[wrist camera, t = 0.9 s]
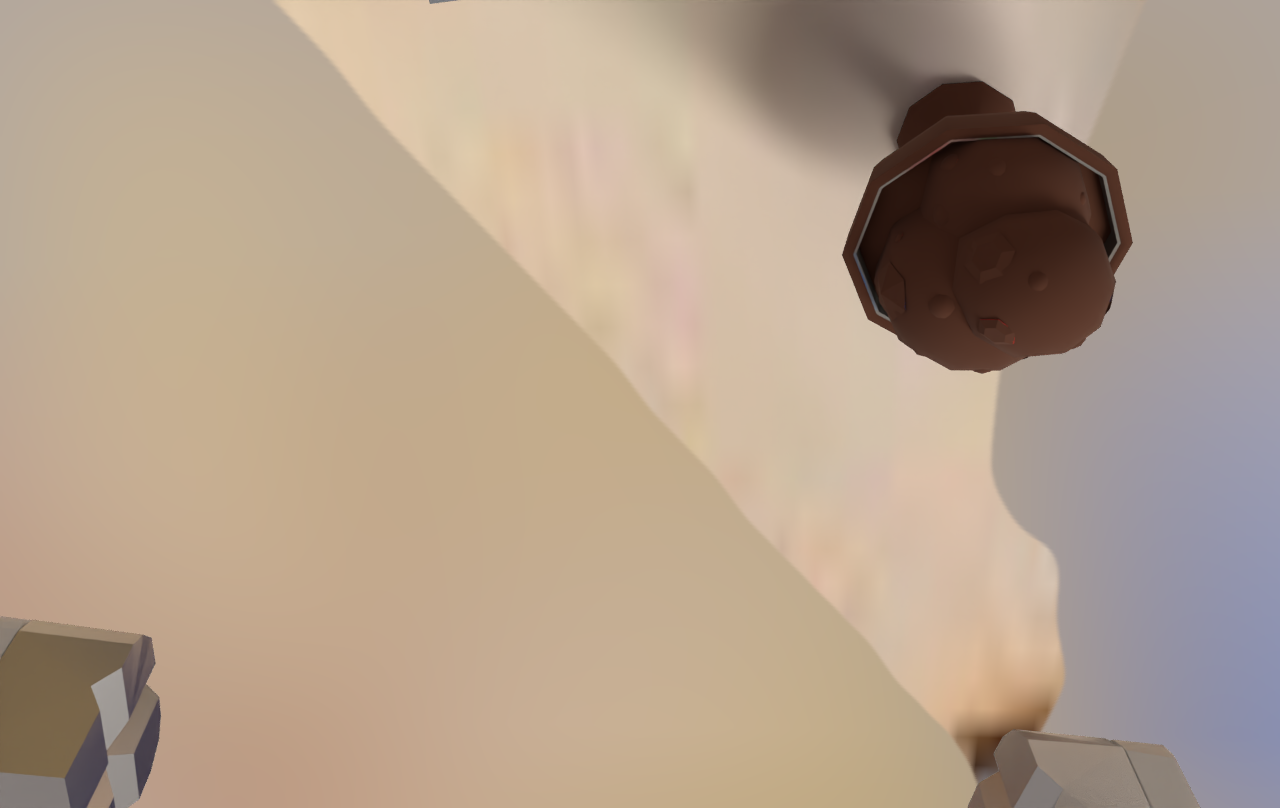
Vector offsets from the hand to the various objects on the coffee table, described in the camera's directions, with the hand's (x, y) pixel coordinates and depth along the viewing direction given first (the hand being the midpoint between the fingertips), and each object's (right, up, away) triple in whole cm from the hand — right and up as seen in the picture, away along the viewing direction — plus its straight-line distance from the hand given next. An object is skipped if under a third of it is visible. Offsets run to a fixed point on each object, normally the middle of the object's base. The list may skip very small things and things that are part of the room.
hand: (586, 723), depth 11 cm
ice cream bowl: (+15, +15, +41) cm, 46 cm away
